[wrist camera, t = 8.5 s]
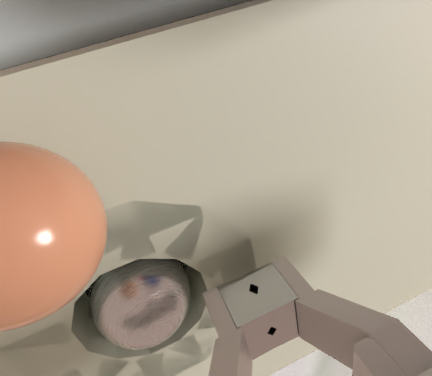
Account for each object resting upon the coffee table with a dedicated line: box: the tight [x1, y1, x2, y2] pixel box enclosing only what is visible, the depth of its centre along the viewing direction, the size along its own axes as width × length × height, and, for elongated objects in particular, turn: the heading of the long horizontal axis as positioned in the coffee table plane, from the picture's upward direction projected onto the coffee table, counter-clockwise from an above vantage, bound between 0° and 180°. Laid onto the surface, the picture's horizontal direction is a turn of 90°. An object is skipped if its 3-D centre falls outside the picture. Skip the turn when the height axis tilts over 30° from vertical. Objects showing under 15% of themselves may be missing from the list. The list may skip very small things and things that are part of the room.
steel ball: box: [90, 259, 190, 350], centre depth 11 cm, size 4×4×4 cm
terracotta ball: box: [0, 142, 107, 332], centre depth 6 cm, size 4×4×4 cm
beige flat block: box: [0, 0, 432, 376], centre depth 12 cm, size 16×20×2 cm
